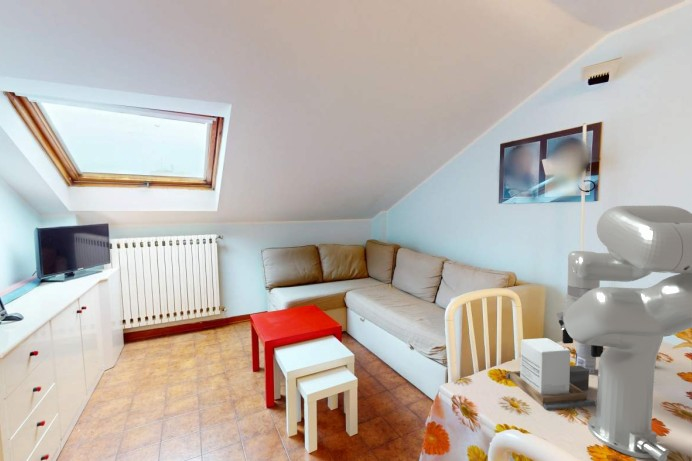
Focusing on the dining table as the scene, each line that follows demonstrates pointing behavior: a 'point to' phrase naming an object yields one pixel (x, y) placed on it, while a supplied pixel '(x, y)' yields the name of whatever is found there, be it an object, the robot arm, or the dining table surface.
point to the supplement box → (545, 366)
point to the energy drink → (585, 357)
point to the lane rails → (566, 402)
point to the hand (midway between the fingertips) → (581, 349)
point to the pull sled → (576, 385)
